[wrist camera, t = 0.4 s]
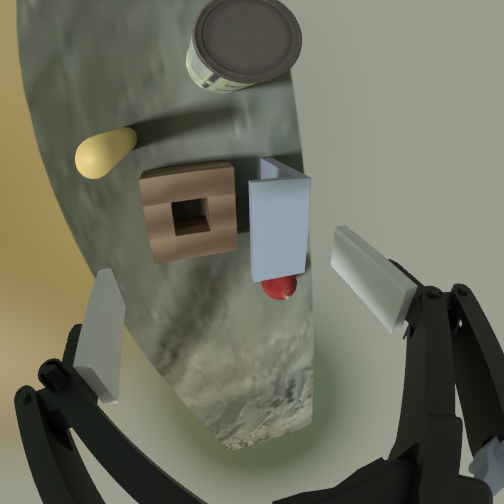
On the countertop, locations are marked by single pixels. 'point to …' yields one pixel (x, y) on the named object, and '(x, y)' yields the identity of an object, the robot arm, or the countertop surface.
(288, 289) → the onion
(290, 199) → the light blue box
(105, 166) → the peg
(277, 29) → the coffee can
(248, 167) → the countertop surface
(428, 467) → the robot arm
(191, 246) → the socket block
